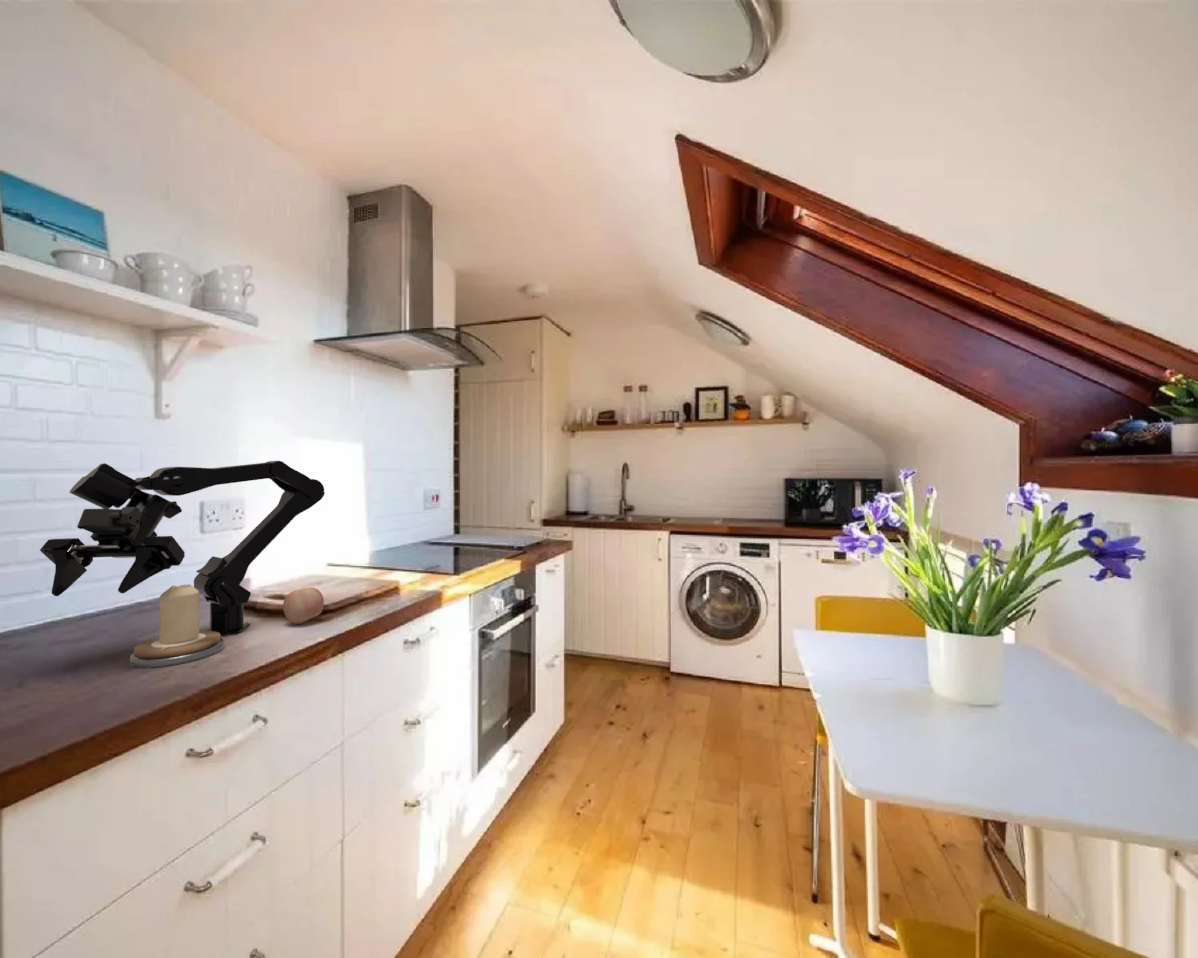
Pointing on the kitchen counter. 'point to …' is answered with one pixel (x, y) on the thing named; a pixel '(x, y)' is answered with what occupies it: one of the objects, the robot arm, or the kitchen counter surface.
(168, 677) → the kitchen counter surface
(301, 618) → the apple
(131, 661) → the turntable base
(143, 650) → the turntable
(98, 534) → the robot arm
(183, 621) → the candle
